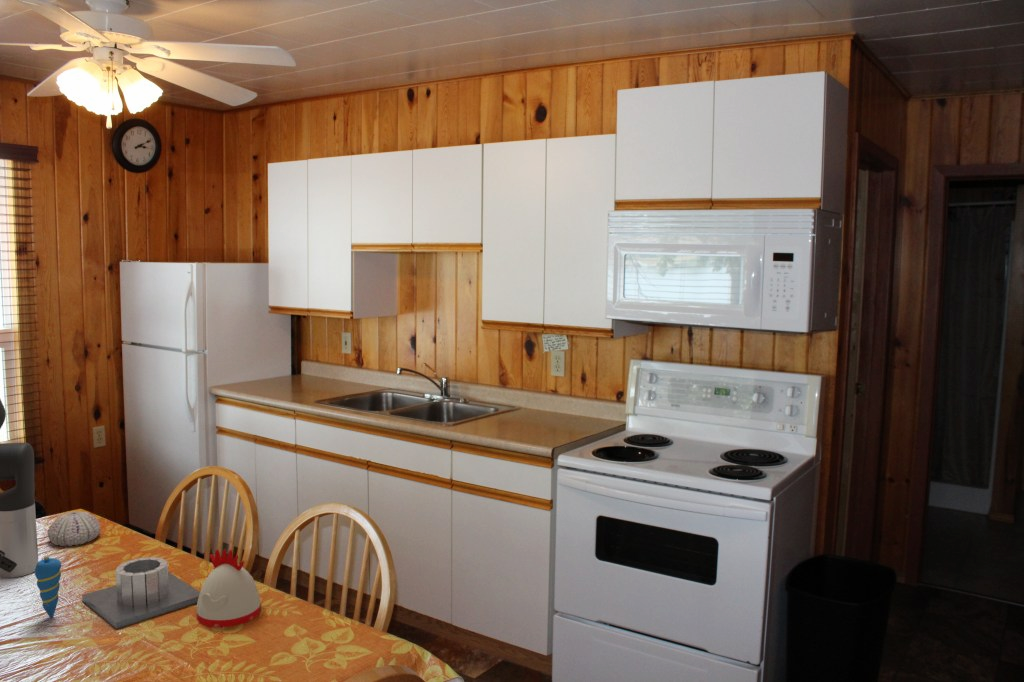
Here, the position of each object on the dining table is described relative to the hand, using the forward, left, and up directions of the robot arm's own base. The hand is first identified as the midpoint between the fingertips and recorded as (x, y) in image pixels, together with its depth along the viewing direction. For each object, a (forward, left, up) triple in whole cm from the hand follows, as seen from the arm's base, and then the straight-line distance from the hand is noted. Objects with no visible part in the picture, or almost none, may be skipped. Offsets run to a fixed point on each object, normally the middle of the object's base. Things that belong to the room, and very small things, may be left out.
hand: (7, 562), depth 176 cm
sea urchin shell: (-47, +29, -15) cm, 57 cm away
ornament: (0, +8, -15) cm, 17 cm away
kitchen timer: (+26, +37, -15) cm, 48 cm away
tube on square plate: (+6, +26, -15) cm, 30 cm away
